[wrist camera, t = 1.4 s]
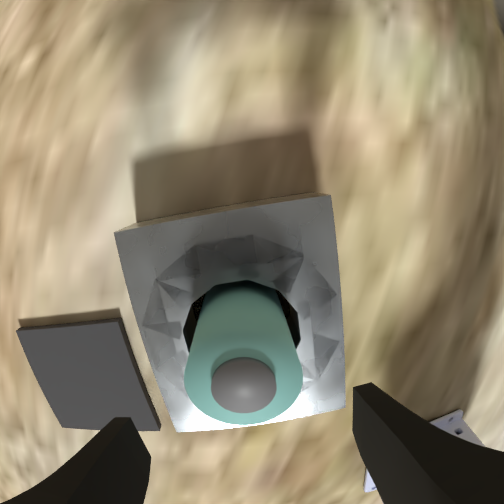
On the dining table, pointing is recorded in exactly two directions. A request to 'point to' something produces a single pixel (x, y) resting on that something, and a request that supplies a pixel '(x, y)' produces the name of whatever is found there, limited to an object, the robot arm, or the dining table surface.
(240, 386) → the teal and grey cylinder
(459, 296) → the dining table surface
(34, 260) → the dining table surface
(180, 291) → the housing
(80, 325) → the mat
